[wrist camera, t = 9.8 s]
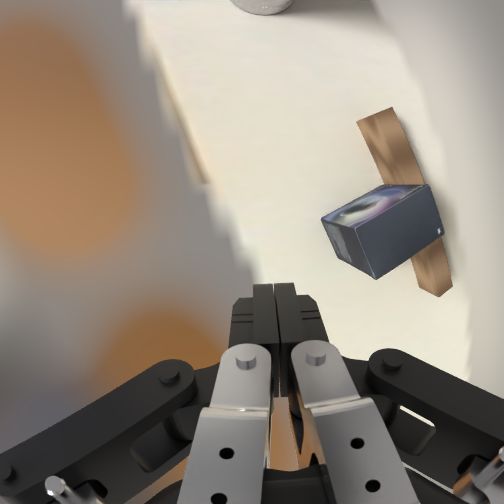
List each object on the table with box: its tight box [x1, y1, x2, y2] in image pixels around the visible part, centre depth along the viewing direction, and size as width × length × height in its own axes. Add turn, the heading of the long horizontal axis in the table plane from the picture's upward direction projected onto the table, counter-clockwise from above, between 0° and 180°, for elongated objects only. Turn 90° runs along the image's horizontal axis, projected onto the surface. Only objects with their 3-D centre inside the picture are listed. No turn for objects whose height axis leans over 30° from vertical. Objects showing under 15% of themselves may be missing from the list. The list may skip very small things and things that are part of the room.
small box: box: [321, 184, 445, 280], centre depth 33 cm, size 11×6×10 cm, turn 118°
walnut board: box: [357, 107, 453, 297], centre depth 36 cm, size 26×3×5 cm, turn 28°
